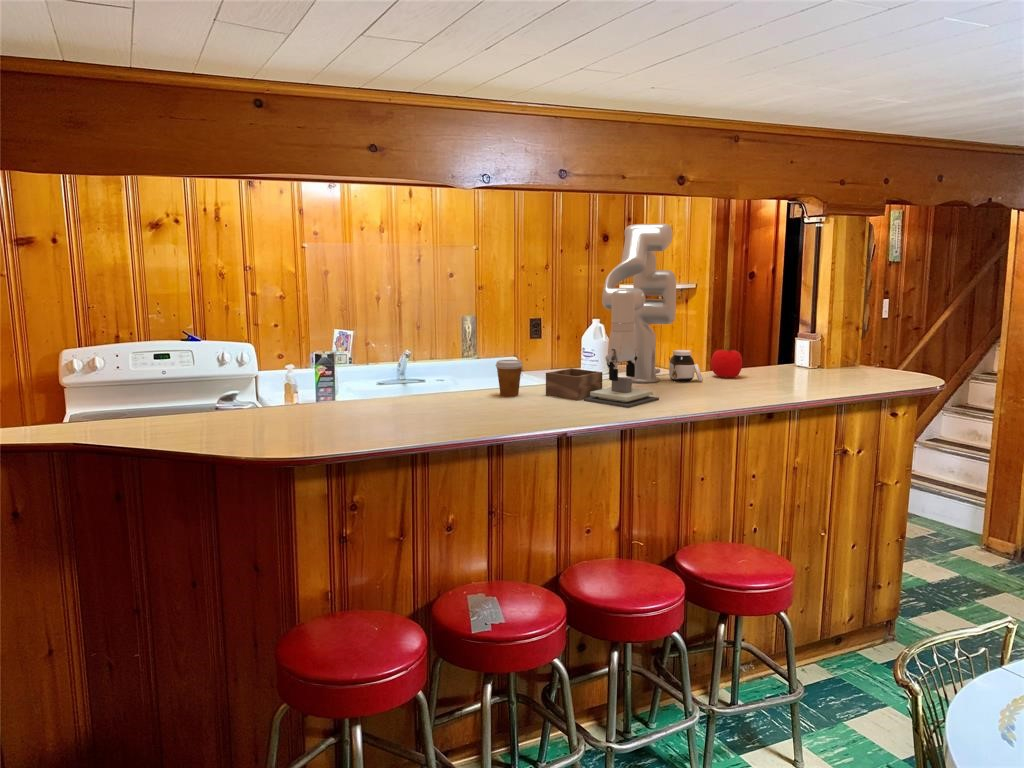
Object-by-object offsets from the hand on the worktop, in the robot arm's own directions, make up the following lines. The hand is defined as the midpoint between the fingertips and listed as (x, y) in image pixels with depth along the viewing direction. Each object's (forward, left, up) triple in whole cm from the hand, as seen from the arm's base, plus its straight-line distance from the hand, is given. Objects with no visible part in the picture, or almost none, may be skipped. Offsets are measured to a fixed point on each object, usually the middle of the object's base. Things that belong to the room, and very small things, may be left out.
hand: (622, 378), depth 246 cm
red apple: (-67, +3, -8) cm, 67 cm away
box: (+3, -18, -7) cm, 20 cm away
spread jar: (-49, -4, -8) cm, 49 cm away
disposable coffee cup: (+18, -35, -8) cm, 40 cm away
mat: (0, 0, -7) cm, 7 cm away
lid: (0, 0, -7) cm, 7 cm away
